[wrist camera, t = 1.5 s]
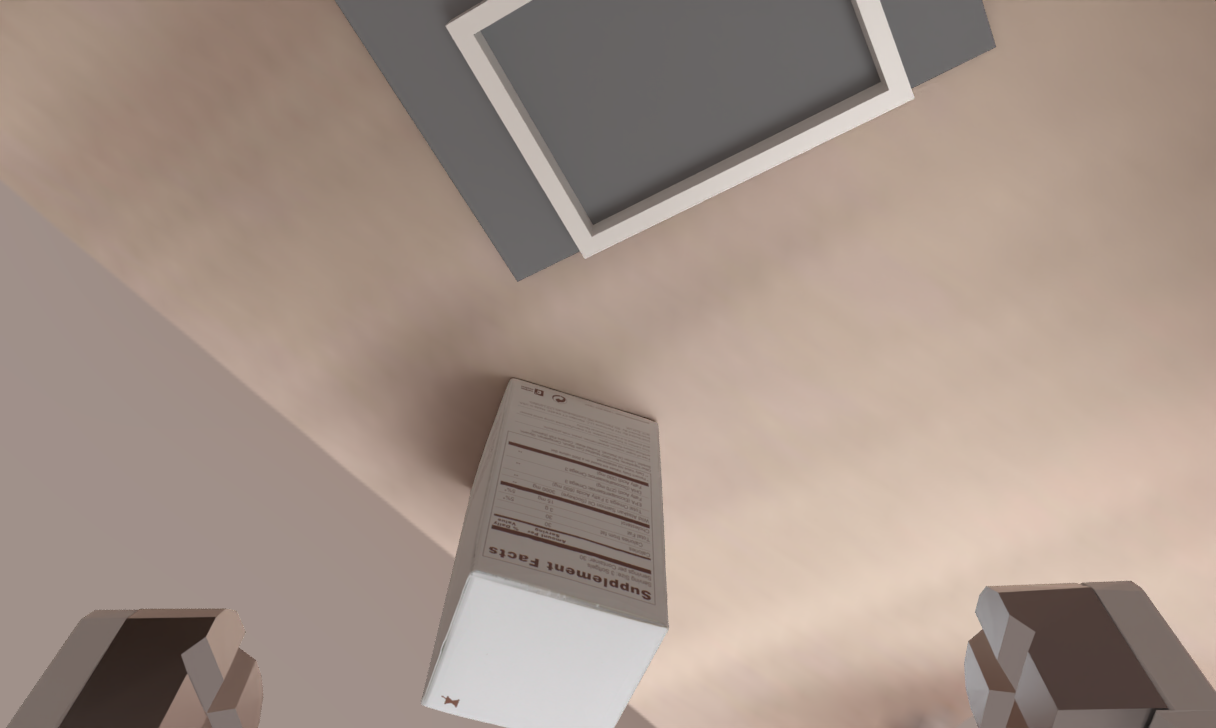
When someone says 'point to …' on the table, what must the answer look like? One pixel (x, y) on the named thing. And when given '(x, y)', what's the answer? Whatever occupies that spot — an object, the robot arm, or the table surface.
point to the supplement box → (555, 568)
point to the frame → (702, 184)
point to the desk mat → (635, 91)
